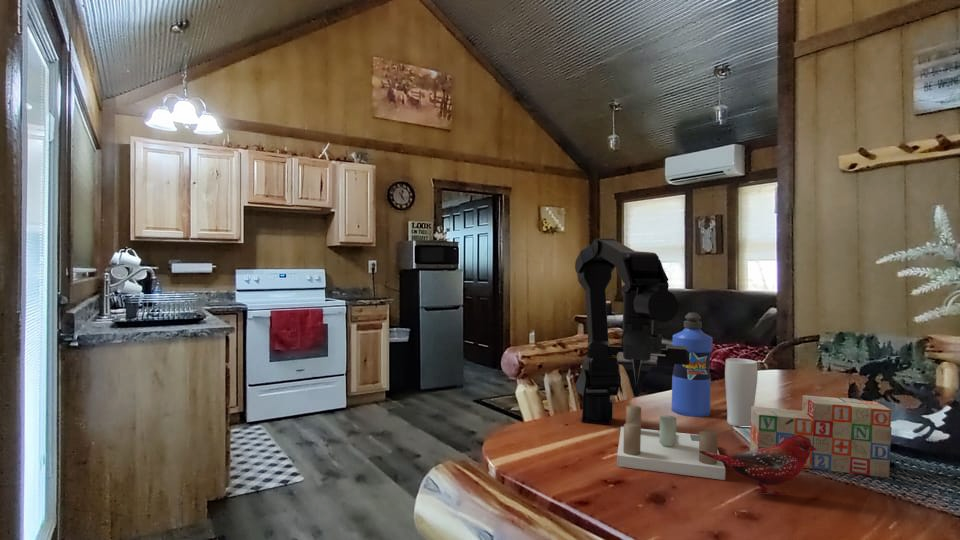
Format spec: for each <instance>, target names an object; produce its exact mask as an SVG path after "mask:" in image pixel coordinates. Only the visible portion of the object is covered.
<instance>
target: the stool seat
mask: <svg viewBox="0 0 960 540" xmlns="http://www.w3.org/2000/svg"><path fill="white" fill-rule="evenodd" d="M641 423H642V407H640V406H638V405H626V407H625V423H624V424H623V426H620V432H619V440H618V446H617V455H616V467H620V468H628V469H635V470H641V471H642V470H644V471H650V472H651V471H652V472H658V473H659V472H660V473H667V474H675V475H680V476H681V475H682V476H690V477H691V476H692V477H698V478H707V479H715V480H722V481H726V466H725V463H723V462H721V461H719V460H716V459H714V458H711V457H709V456H707V455H704V454H702V453H700V452H699V451H705V452H710V453H714V454H719V455H721V454H720V452H719V450H718V446H719V444H718V443H719V434H718V433H717V432H715V431H710V430H700V431H699V434H695V433H693V434H692V433H687V432H686V433H682V432H677V431H676V445H674V446H666V445H662V444H660V443H659V437H660V432H659V430H656V429H646V428H642V424H641Z"/></svg>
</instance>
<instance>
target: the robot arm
mask: <svg viewBox="0 0 960 540" xmlns="http://www.w3.org/2000/svg"><path fill="white" fill-rule="evenodd" d="M574 262H575V263H574V270H575V272H576V274H577V281H578V283H579V284H580V285H581V287H582V289H583V290H584V292H585V308H586V327H587V328H586V329H587V351H586V352H587V353H586V356H585V358H584V360H583V361H582V362H581V363H582V365H581V368H582V369H581V371H580V374H579V376H578V378H577V380H576V382H575V386H576V387H575V388H576V392H577V393H578V394H580V395H581V396H582V408H581V409H582V414H581V415H582V416H581V419H580V422H583V423H592V424H600V425H601V424H602V425H611V421H612V420H613V418H614V417H613V416H614V400H613V399H612V396H615V397H617V396H618V395H619V390H620V385H621V380H622V379H621V373H620V372H621V371H619V366H621V365H622V367H623V369H624V371H625V372H626V374H627V375H626V376H627V378H628V382H629V383H630V384H629V385H630V388H631V391H632V394H633V396H634V397H637V398H638V397H639V395H640V393H641V391H642V387H643V384H644V382H645V379H646V377H647V375H648V373H649V371H650V370H651V369H652V368H656V367H658V362H657V361H658V359H661V360H662V359H665V360H667V361H668V362H669V363H670V364H671V365H674V364H680V365H689V357H690V356H689V351H688V349H687V348H686V347H685V346H675V345H673V344H666V347H665V348H663V344H662V343H663V335H662V334H661V333H659V334H658V333H654V321H655V322H660V323H668V322H670V321H672V320H673V319H674V318H675V317H676V316H677V315H678V314H677V313H678V311H679V307H680V306H679V302H678V299H677V297H676V295H674V293H673V292H671V291H669V287H670V285H669V282H668V281H669V278H668V275H667V274H666V271H665V269H664V267H663V264H662V261H661V259H660V257H659V255H658V254H657V253H656V252H651V251H638V250H637V251H636V250H634V249H632V248H630V247H628V246H626V245H624V244H622V243H621V242H619V241H618V240H617V239H615V238H611V237H610V238H609V237H598V238H594V239H593V241H592V242H591V244H590V245H588V246H586V247H585V248H584V249H582V250H580V251H579V254H578V256H577V258H576V259H575V261H574ZM615 268H616V274H617V275H618V276H619V278H620V280H621V281H622V283H623V285H622V286H621V288H620V291H621V292H623V297H622V299H623V300H622V301H623V302H622V307H623V308H622V333H621V334H622V335H621V341H620V343H621V345H610V341H609V329H608V327H609V326H608V311H607V308H608V307H607V294H606V289H607V287H608V285H609V283H610V281H611V279H612V272H613V271H614V269H615ZM615 356H616V357H615ZM634 360H639V361H640V362H639V363H640V364H639V368H638V374H637V381H636V372H635V363H634Z"/></svg>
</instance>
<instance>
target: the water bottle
mask: <svg viewBox="0 0 960 540" xmlns="http://www.w3.org/2000/svg"><path fill="white" fill-rule="evenodd" d="M684 318H685V319H686V320H684V321H683V328H684V329H683V330H681V331H679V332H677V333H674V334H673V335H672V345H675V346H685V347H686V348H687V349H688V351H689V356H690V357H689V365H680V364H673V365H674V366H673V370H672V378H671V379H672V380H671V411H672V412H673V413H675V414H677V415H680V416H687V417H692V418H693V417H694V418H702V417H703V418H705V417H708V416H710V415H711V386H712V383H711V381H712V378H711V372H710V363H711V358H712V357H711V356H712V352H713V340H714V339H713V337H712V336H710V335H708V334H706V333H705V332H704V331H702V328H703V327H702V324H703V323H702V321H700V320H701V319H702V317H701V315H699V313H698V312H693V311H692V312H691V311H690V312H688V313H687V314H686V315H685V316H684Z"/></svg>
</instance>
